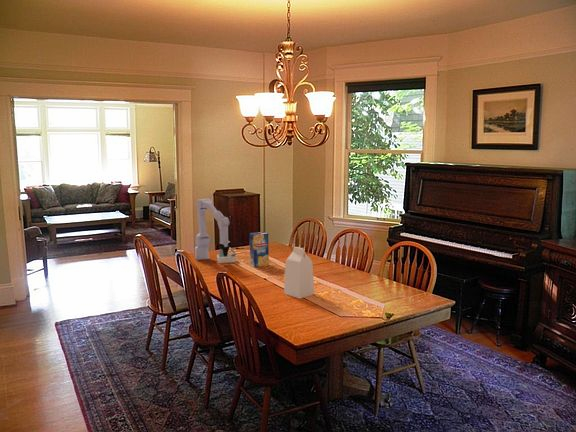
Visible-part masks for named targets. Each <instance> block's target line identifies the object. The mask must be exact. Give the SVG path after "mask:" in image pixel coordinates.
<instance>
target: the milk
mask: <svg viewBox="0 0 576 432" xmlns="http://www.w3.org/2000/svg"><path fill="white" fill-rule="evenodd" d="M313 265H314V264H313V261H312V259H311V258H310V257H309V256H308V255H307V254H306V252H305V248H304V247H299V246H294V247H293V249H292V252H290V255H288V257H287V258H286V260H285V264H284V283H283V284H284V285H283V286H284V288H283V289H284V290H283V291H284V292H283V294H284V295H286V296H290V297H293V298H297V299H303V298H306V297H308V296H312V295H314V294H315V285H314V283H315V282H314V281H315V280H314V270H313V269H314V266H313Z"/></svg>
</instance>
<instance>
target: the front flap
mask: <svg viewBox="0 0 576 432" xmlns="http://www.w3.org/2000/svg"><path fill="white" fill-rule="evenodd" d="M218 251H219V253H218V255H219V257H224V255H223V250H222V249H221V248H220V249H219V250H218ZM227 256H228V255H227Z"/></svg>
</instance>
